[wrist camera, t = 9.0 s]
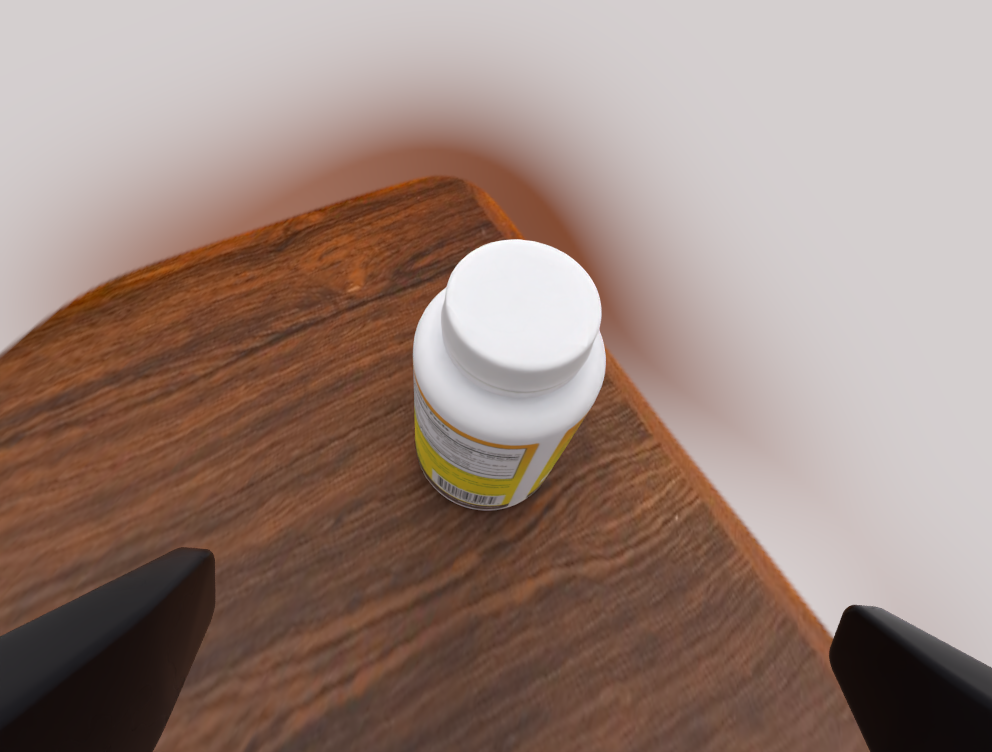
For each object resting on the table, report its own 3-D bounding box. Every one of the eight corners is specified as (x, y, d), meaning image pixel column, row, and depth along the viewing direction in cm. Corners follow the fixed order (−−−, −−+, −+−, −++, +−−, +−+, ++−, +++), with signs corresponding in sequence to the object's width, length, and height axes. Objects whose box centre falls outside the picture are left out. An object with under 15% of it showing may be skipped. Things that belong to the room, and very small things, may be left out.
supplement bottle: (523, 371, 25) (583, 199, 16) (571, 490, 23) (674, 368, 14) (397, 403, 23) (386, 233, 14) (436, 534, 21) (451, 429, 12)
